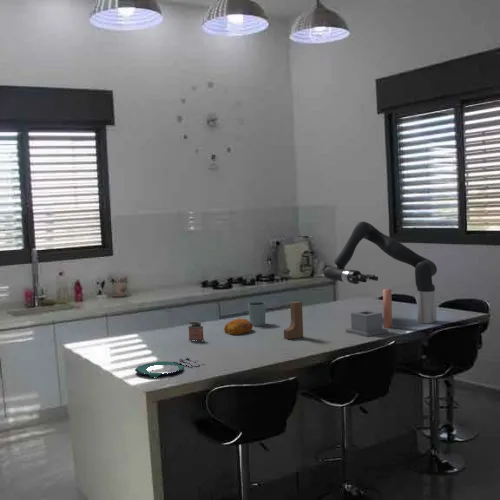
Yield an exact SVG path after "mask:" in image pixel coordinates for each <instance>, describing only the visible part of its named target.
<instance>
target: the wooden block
mask: <svg viewBox="0 0 500 500" xmlns="http://www.w3.org/2000/svg"><path fill="white" fill-rule="evenodd" d="M289 303H290V325H289V326H288V327H286V328H285V329H283V338H284V339H285V340H288V339H289V340H293V338H295V339H299V338H300V337H301V338H303V337H304V322H303V320H304V319H303V302H302V301H299V300H297V301H296V300H295V301H290V302H289Z"/></svg>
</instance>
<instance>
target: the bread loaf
mask: <svg viewBox="0 0 500 500" xmlns="http://www.w3.org/2000/svg"><path fill="white" fill-rule="evenodd" d="M253 327H254V326H253V325H252V323H251V322H250V320H249V319H247V318H237V319H233V320H231V321H229V322H228V321H227V323H225V326H224V328H223V329H224V333H225V334H228V335H235V336H237V335H242V334H245V333H249V332H251V331H252V329H253Z"/></svg>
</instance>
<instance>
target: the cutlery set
mask: <svg viewBox="0 0 500 500" xmlns="http://www.w3.org/2000/svg"><path fill="white" fill-rule="evenodd" d="M186 358H187V359H191V358H189V357H187V356H186V357H185V359H182V358H179V359H180V360H183V361H182V362H184V361H186ZM180 360H179V361H180ZM196 361H197V362H198V361H199V360H196ZM154 365H165V366H166V365H171V366H172V365H174V366H178V368H179V369H178V370H179V371H178V370H177V371H176V372H177V373H179V372H182V371H181V370H183V371H184V369H185V366H184V365H180V364H179V363H177V362H173V361H168V360H167V361H164V360H162V361H161V360H160V361H156V362H150V363H145V364H142V365H138V366H137V367H135V369H134V371H135V372H136V373H137V374H139V375H142V376H143V375H144V376H149V377H150V378H152V377H157V378H158V377H159V376H161V375H162V376H167V375H168V374H169V375H173V373H174V374H177V373H176V372H173V373H172V372H171V373H168V374H167V373H164V374H162V373H151V372H150V373H149V372H148V371H147V370H146V369H147V368H148V367H150V366H154ZM152 371H153V370H152ZM144 373H145V374H144Z"/></svg>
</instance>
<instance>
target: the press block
mask: <svg viewBox="0 0 500 500" xmlns="http://www.w3.org/2000/svg"><path fill="white" fill-rule="evenodd" d="M350 317H351V318H350V322H351V327H350V328H346V329H345V331H346V333H349V334H353V335H357V336H360V337H361V336H362V337H365V338H369V337H372V336H376V335H382V334H386V333H388V332H389V328H384V327H383V312H380V311H376V310H375V311H374V310H368V309H365V310H360V311H354V312H351V313H350Z"/></svg>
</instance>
